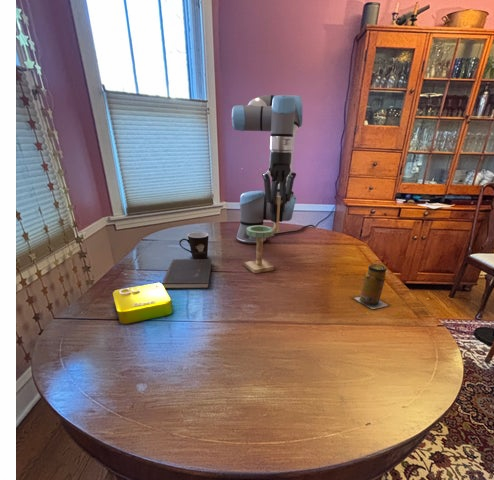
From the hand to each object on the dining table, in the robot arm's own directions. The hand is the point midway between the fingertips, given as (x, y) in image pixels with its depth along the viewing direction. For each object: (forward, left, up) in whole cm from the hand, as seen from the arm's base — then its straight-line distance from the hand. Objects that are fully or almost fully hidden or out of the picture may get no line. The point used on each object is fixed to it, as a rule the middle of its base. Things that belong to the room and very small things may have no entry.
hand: (276, 221), depth 115 cm
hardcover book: (+35, -4, -18) cm, 40 cm away
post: (+7, 0, -18) cm, 19 cm away
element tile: (+55, +14, -18) cm, 60 cm away
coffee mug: (+26, -22, -18) cm, 39 cm away
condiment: (-12, +42, -18) cm, 47 cm away
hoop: (+6, 0, -4) cm, 7 cm away
